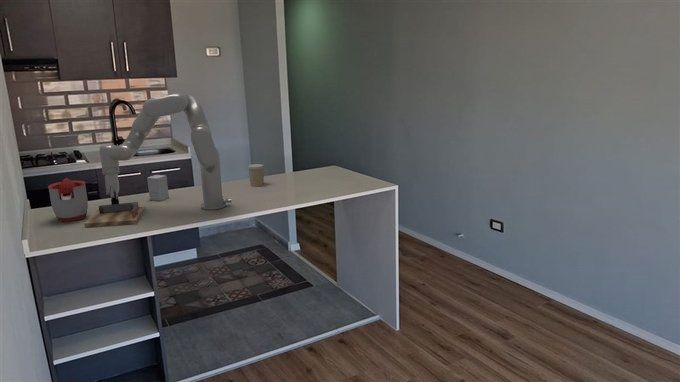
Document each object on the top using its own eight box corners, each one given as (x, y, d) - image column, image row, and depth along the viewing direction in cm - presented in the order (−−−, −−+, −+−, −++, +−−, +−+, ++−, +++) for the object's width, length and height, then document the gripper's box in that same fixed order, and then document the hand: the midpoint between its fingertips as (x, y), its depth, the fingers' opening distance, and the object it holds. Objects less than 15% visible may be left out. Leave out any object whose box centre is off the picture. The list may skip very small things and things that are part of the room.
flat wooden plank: (146, 210, 240) (144, 199, 239) (136, 224, 220) (135, 212, 218) (99, 213, 237) (97, 202, 235) (84, 227, 216) (83, 216, 214)
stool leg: (138, 207, 237) (138, 201, 237) (138, 209, 234) (137, 203, 234) (99, 211, 232) (98, 205, 231) (98, 213, 229) (98, 207, 228)
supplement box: (169, 197, 263) (167, 175, 260) (160, 201, 256) (157, 178, 253) (158, 196, 266) (155, 174, 262) (149, 200, 259) (146, 177, 255)
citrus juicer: (51, 226, 217) (43, 184, 212) (55, 216, 233) (48, 176, 228) (89, 222, 223) (83, 180, 218) (91, 212, 239) (85, 172, 234)
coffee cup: (268, 184, 290) (267, 164, 287) (257, 187, 282) (256, 167, 279) (256, 182, 295) (255, 163, 292) (246, 185, 287) (244, 166, 284)
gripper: (104, 167, 236) (109, 203, 241) (100, 174, 223) (105, 211, 227) (121, 166, 238) (125, 202, 243) (117, 173, 225) (122, 210, 229)
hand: (115, 206), depth 235 cm, fingers closed
